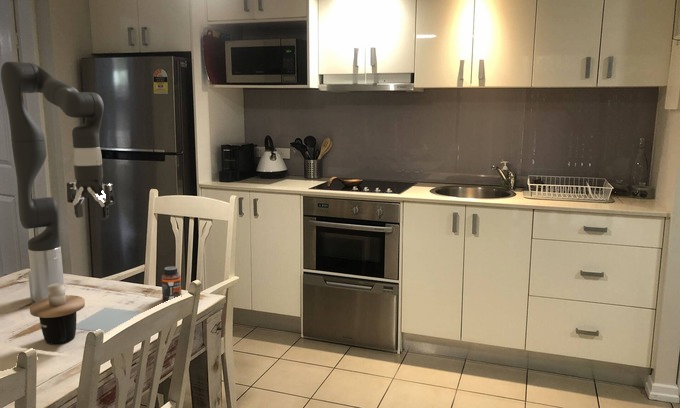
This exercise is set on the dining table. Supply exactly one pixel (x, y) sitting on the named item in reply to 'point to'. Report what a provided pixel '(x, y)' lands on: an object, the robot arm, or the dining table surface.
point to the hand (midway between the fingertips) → (92, 218)
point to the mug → (59, 329)
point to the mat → (106, 319)
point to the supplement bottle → (171, 283)
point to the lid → (57, 303)
